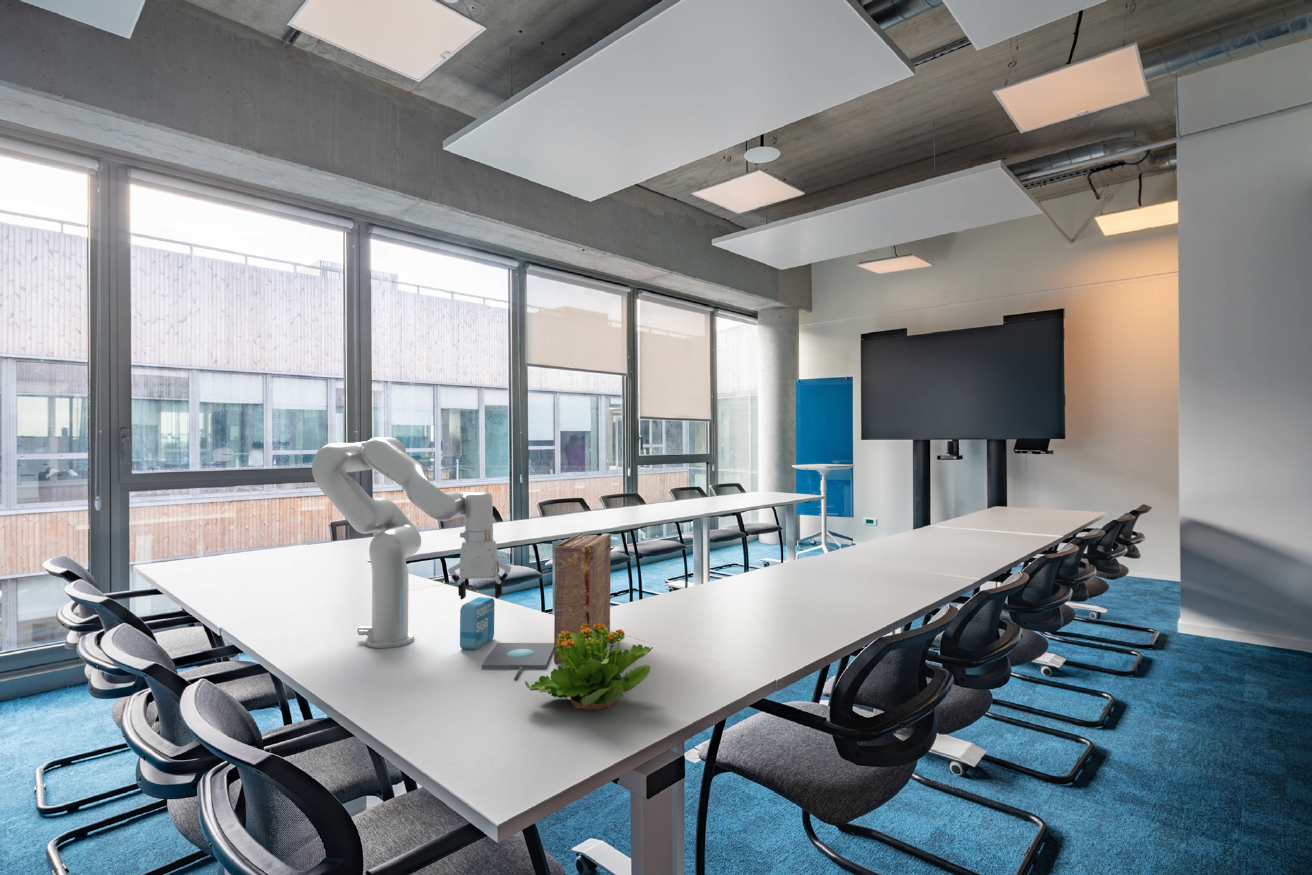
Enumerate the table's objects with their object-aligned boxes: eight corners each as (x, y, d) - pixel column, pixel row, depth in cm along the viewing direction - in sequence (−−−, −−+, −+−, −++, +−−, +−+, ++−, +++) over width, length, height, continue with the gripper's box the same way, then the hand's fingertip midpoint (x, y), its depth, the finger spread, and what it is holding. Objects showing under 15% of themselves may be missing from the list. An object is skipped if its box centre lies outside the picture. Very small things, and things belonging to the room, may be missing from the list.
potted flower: (577, 674, 160) (578, 602, 161) (667, 689, 151) (668, 613, 151) (518, 713, 137) (518, 629, 137) (620, 733, 128) (621, 643, 128)
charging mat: (473, 680, 156) (473, 675, 156) (497, 646, 182) (497, 642, 182) (541, 680, 156) (541, 676, 156) (555, 646, 182) (555, 642, 182)
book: (579, 634, 193) (580, 532, 194) (610, 636, 192) (611, 533, 192) (553, 663, 168) (554, 546, 168) (588, 665, 167) (589, 547, 167)
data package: (474, 651, 177) (475, 606, 177) (459, 650, 178) (459, 605, 178) (494, 638, 189) (494, 596, 189) (479, 637, 190) (480, 595, 190)
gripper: (444, 539, 180) (445, 601, 180) (507, 537, 180) (508, 600, 180) (452, 535, 187) (453, 595, 187) (513, 533, 188) (514, 593, 188)
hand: (480, 597), depth 184 cm, fingers open, 9 cm apart
